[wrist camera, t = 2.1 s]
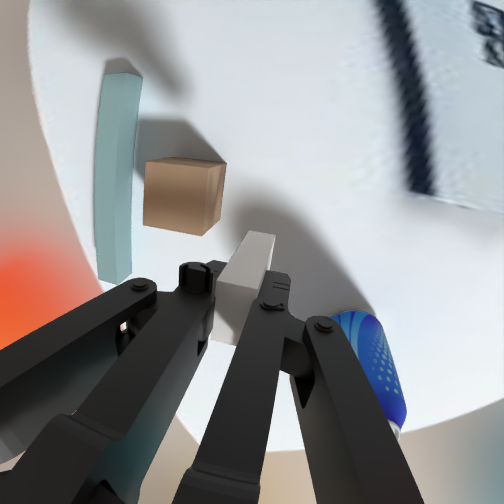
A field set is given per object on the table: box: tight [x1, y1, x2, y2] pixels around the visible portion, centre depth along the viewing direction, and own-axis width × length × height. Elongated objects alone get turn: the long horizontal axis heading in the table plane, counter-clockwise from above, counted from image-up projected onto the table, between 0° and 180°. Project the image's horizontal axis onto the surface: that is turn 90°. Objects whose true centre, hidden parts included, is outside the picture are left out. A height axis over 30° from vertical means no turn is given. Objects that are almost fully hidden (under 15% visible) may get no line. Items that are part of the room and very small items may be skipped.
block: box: [143, 157, 227, 236], centre depth 28 cm, size 6×6×6 cm
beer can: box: [330, 310, 407, 441], centre depth 26 cm, size 8×8×16 cm
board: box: [94, 72, 143, 285], centre depth 30 cm, size 24×3×4 cm, turn 172°
